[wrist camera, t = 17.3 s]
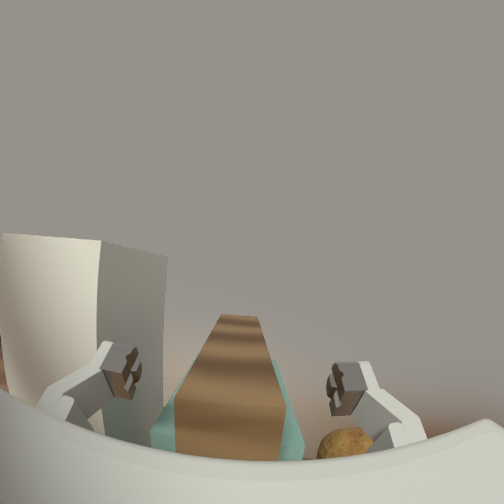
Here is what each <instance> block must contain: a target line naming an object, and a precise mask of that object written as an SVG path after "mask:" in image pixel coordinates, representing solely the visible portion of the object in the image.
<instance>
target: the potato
mask: <svg viewBox="0 0 504 504" xmlns="http://www.w3.org/2000/svg"><path fill="white" fill-rule="evenodd" d="M373 443H374V442H373V441H372V440H371V439H370V438H369V437H368V435H367V434H366V433H365V432H364V431H363V430H362V429H361V428H360V427H358V428H344V429H338V430H334V431H332V432H331V433H329V434H328V435H326V436H325V438H323V440H322V441H321V444H320V446H319V449H318V454H317V459H327V458H336V457H345V456H352V455H359V454H365V452H366V451H367V450H368V448H369V447H370V446H371V445H372V444H373Z"/></svg>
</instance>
